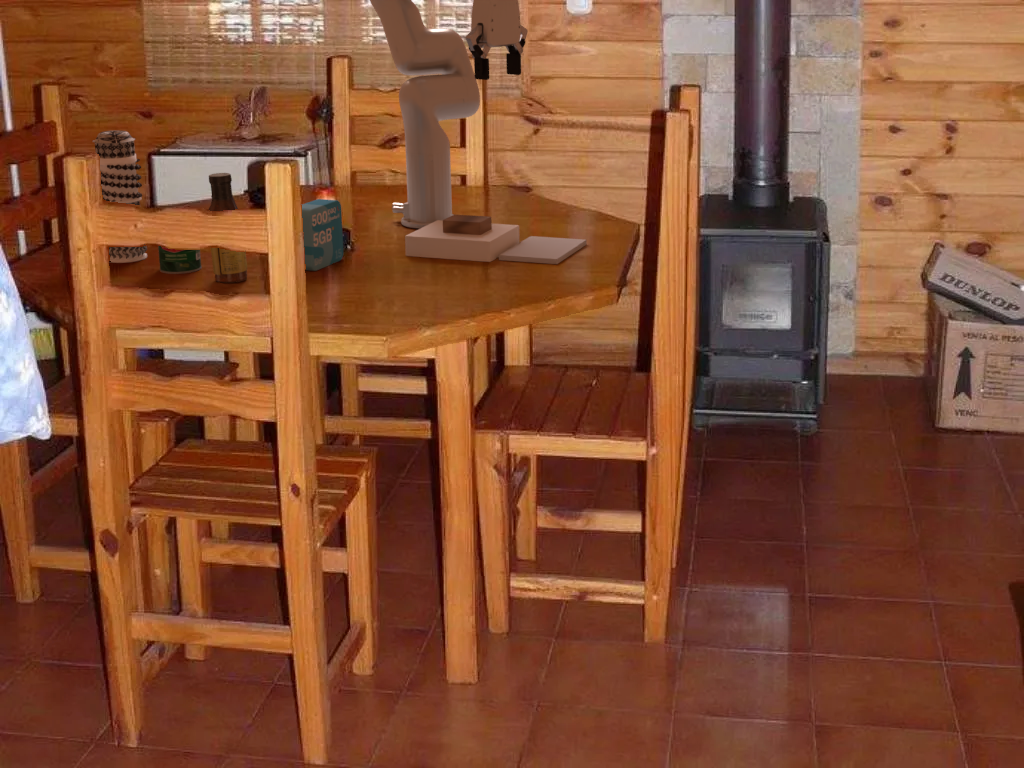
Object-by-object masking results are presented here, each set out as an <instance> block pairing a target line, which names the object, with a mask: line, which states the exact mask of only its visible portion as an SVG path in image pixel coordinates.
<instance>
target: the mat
mask: <svg viewBox="0 0 1024 768" xmlns="http://www.w3.org/2000/svg"><path fill="white" fill-rule="evenodd" d="M585 246H587V239H581V238H580V239H579V238H568V237H567V238H566V237H565V238H564V237H552V236H551V237H550V236H536V235H534V236H533V235H530V236H528V237H527V238H525V239H524V240H521V241H519V243H518V244H517V245H515V246H513V247H511V248H510V249H508V250H506V251H505V252H503V253H501V254H500V255H499V257H498V260H499V261H507V262H521V263H523V262H524V263H534V264H535V263H536V264H537V263H538V264H549V265H558V264H559V263H561V262H562V261H564V260H565V259H567V258H568V257H571V256H572V255H573V254H575V253H576V252H578V251H579V250H580V249H582V248H584V247H585Z"/></svg>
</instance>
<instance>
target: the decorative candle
mask: <svg viewBox="0 0 1024 768" xmlns="http://www.w3.org/2000/svg"><path fill="white" fill-rule="evenodd" d="M135 140H136V138H135V137H133V136H132V135H131V134H130V133H129V132H128V131H126V130H104V131H101V132H99V133H98V134H97V136H96V138H95V139H94V140H92V143H94V149H95V154H96V153H97V154H99V156H100V171H101V186H102V195H103V199H104V200H106V201H110V202H118V203H126V204H135V205H140V206H141V201H142V200H143V199H142V197H143V194H142V193H141V192H139V189H140V188H142V187H143V184H142V183H141V182H139V181H140V180H141V179H142V175H140V174H139V173H137V171H139V170H140V169H142V166H141V165H140V164H139V163H138V162H140V161H141V158H140V159H139V158H137V153H136V148H135V147H136V146H135ZM147 251H148V246H147V245H146V246H143V247H109V255H110V261H111V262H110V263H113V264H115V263H116V264H123V263H133V262H139V261H142V260H146V259H147V258H148V253H146V252H147Z"/></svg>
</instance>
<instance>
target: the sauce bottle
mask: <svg viewBox="0 0 1024 768" xmlns="http://www.w3.org/2000/svg"><path fill="white" fill-rule="evenodd" d="M232 181H233V180H232V174H231V173H229V172H216V173H211V174H209V175H208V182H209V184H210V191H211V201H210V202H211V203H210V206H209V207H208V210H210V211H223V210H235V209H238V210H239V208H238V206H237V203H236V200H235V199H234V196H233V189H232ZM210 252H211V263H212V271H213V274H214V280H215V282H217V283H222V284H233V283H234V284H235V283H240V282H243V281H245V280H247V278H248V262H247V261H248V260H247V255H246V254H247V252H246V251H245V252H236V251H230V250H225V249H220V248H211V247H210Z"/></svg>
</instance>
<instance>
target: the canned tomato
mask: <svg viewBox="0 0 1024 768" xmlns="http://www.w3.org/2000/svg"><path fill="white" fill-rule="evenodd" d="M157 248H158V249H157V250H158V262H159V271H160V273H163V274H168V275H182V274H183V275H184V274H189V273H195V272H198V271H200V270H201V269H202V259H201V249H200V250H175V249H168V248H165V247H161V246H158V245H157Z"/></svg>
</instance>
